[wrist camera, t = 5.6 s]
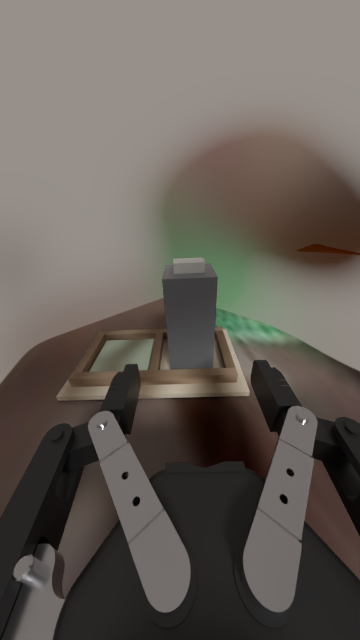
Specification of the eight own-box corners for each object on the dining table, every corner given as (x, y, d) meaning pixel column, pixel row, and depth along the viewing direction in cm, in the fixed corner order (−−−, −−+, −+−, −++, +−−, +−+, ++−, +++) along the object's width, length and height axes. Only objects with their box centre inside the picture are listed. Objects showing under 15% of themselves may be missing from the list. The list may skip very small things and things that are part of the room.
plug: (207, 343, 28) (210, 254, 22) (212, 368, 23) (218, 265, 17) (172, 344, 28) (165, 256, 22) (170, 369, 23) (161, 268, 17)
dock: (225, 332, 31) (226, 322, 30) (248, 395, 20) (251, 383, 19) (99, 336, 31) (96, 326, 30) (58, 400, 21) (52, 388, 20)
